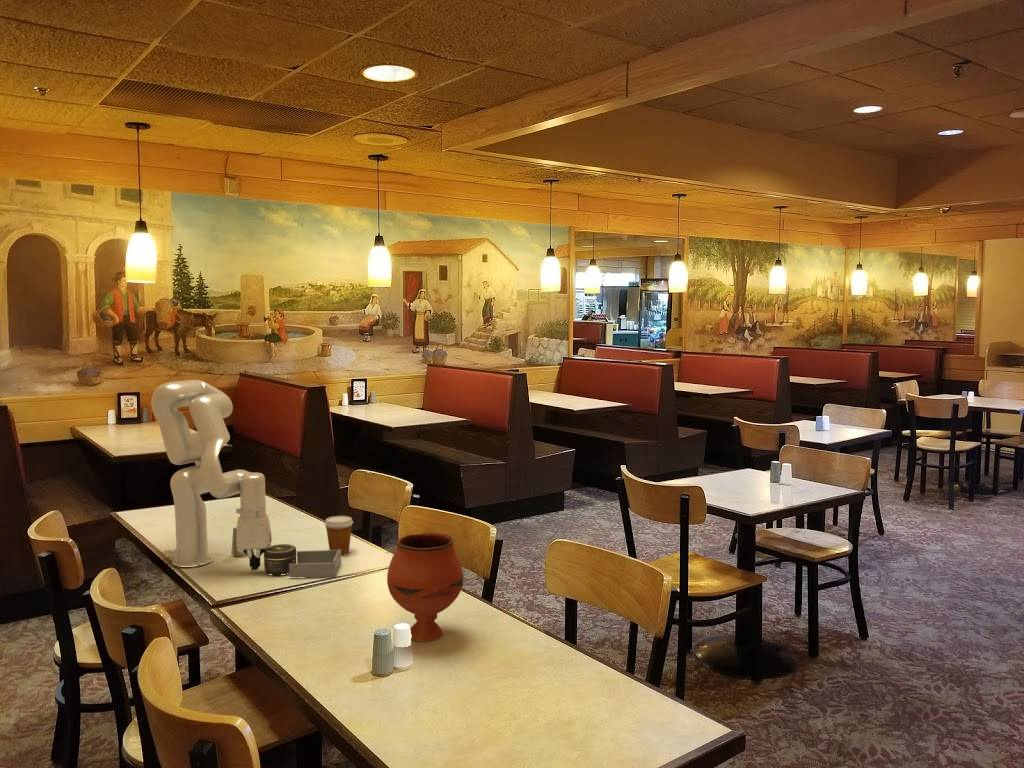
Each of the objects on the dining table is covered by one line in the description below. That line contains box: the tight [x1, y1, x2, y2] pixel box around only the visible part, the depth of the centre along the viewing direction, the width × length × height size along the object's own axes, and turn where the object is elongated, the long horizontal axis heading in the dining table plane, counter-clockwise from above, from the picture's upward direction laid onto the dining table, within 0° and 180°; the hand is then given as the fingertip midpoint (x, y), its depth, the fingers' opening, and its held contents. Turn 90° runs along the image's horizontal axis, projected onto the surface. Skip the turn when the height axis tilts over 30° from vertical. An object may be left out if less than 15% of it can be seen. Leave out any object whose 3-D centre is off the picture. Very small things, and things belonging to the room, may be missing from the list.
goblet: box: [386, 532, 464, 642], centre depth 202 cm, size 19×19×25 cm
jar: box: [263, 543, 297, 575], centre depth 252 cm, size 10×10×8 cm
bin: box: [288, 549, 342, 578], centre depth 253 cm, size 14×14×5 cm
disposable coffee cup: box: [324, 515, 354, 556], centre depth 271 cm, size 10×10×12 cm
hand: (255, 568), depth 251 cm, fingers closed
